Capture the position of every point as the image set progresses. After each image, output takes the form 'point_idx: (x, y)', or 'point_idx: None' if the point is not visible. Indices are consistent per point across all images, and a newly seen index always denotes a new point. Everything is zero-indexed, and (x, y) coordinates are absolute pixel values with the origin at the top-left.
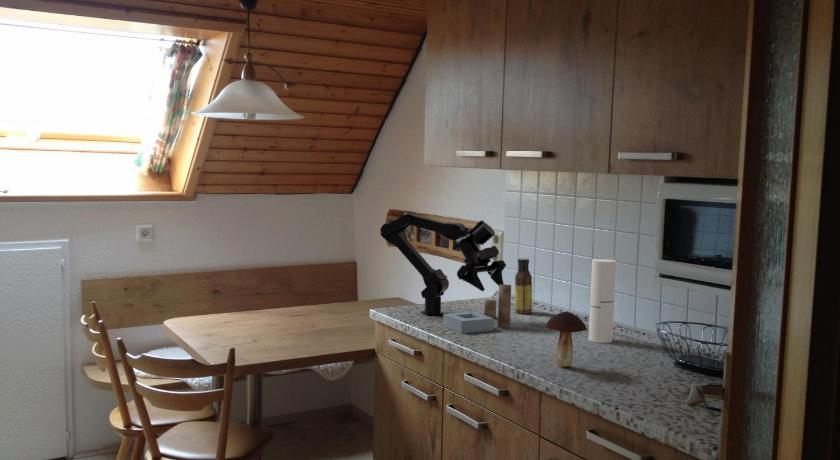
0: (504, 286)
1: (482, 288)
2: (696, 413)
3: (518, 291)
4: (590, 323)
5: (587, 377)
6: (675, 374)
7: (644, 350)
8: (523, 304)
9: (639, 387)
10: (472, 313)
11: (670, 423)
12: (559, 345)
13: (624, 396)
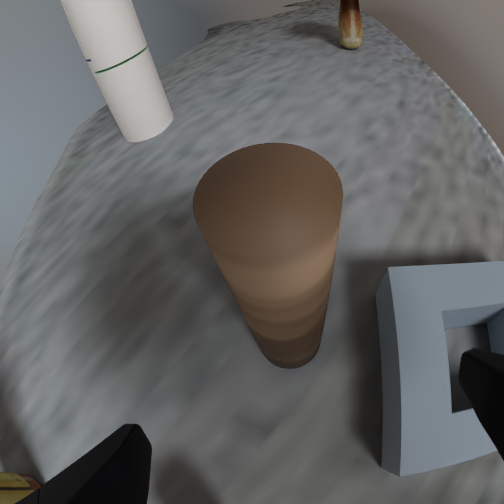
0: (311, 151)
1: (487, 357)
2: (308, 3)
3: None
4: (156, 90)
5: None
6: (231, 30)
7: None
8: (19, 490)
9: (307, 18)
10: (443, 420)
11: None
12: (361, 19)
13: None
